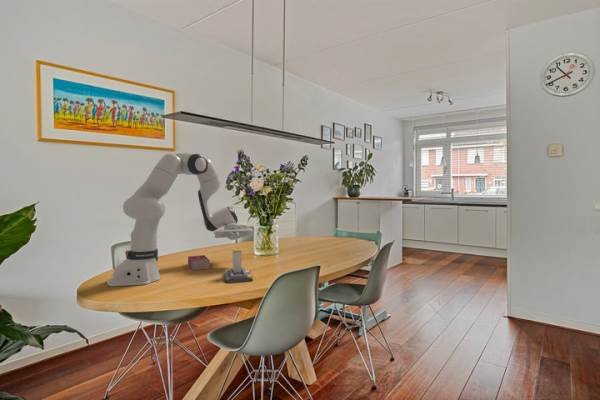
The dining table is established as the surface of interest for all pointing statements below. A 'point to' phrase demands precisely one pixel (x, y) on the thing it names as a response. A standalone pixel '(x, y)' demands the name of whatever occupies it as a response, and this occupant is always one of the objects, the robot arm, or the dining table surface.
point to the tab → (236, 260)
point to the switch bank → (237, 276)
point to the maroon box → (198, 262)
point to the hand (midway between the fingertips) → (235, 235)
